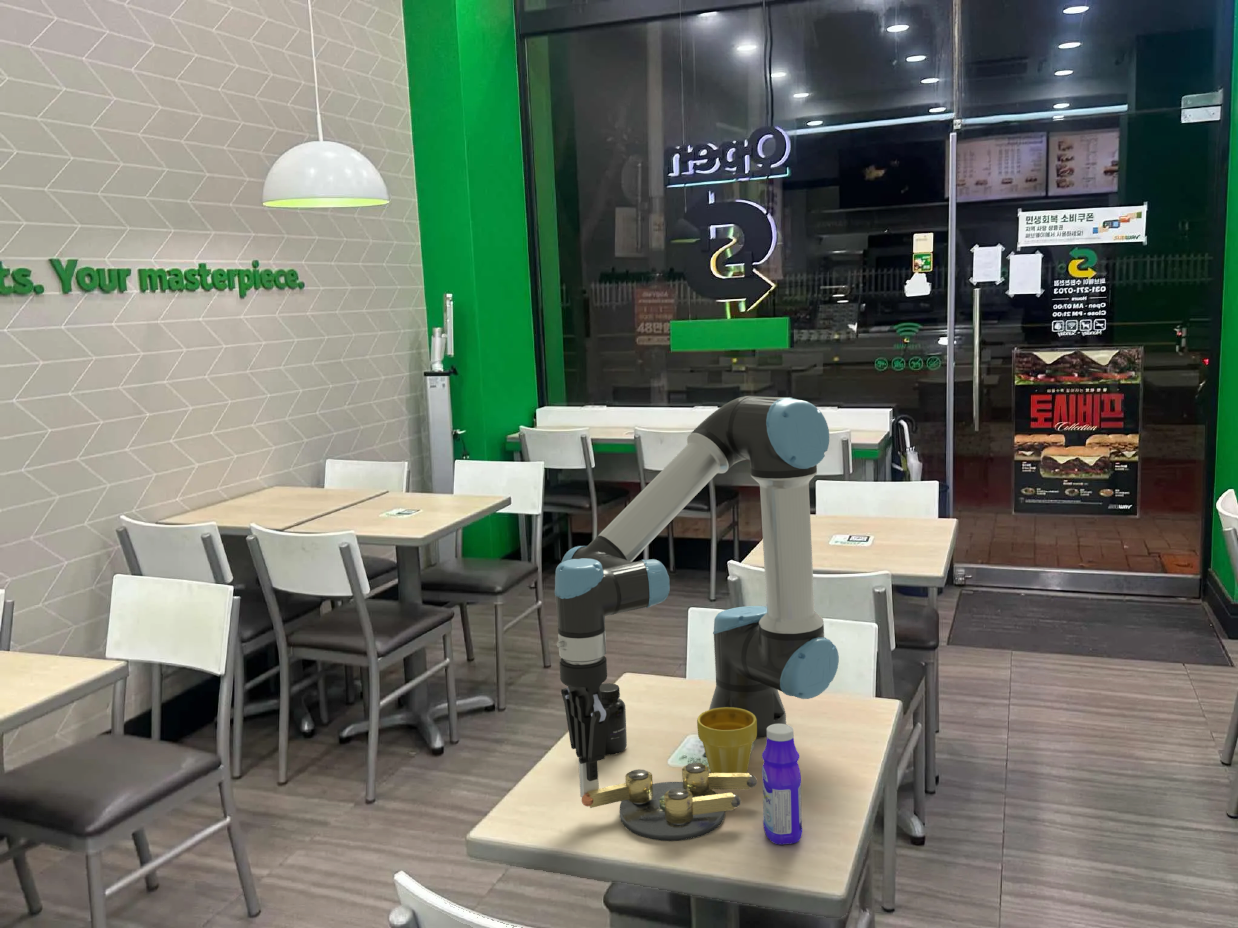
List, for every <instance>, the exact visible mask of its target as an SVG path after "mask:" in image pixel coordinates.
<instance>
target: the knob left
mask: <svg viewBox="0 0 1238 928" xmlns="http://www.w3.org/2000/svg"><path fill="white" fill-rule="evenodd" d="M681 771H682V775H681V776H682V782H683V789H686V790H688V791H690V792H691V793H692V796H701V795H705V794H707V793H708V792H709V791H710V789H712V790H750V789H751V788H755V787H756V786H757V784H758V779H757V777H756V776H755V775H753V774H750V772H746V773H711V772H710V769H709V766H707V765H706V764H703V763H701V762H691V763H688V764H686V765H684V766H682V769H681Z"/></svg>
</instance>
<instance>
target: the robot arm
mask: <svg viewBox="0 0 1238 928" xmlns="http://www.w3.org/2000/svg"><path fill="white" fill-rule="evenodd" d="M686 441H687V442H686V443H687V444H686V446H684V447H683V449H681V450H680V452H679V453H677V454H676V456H674V457H673V459H672V460H671V461H670V462H669V463H668V464H667V465H666V466H665V467H664V468H663V469H662V470H661V471H660V472H659V473H658V474H656V476H655V477H654V478H653V479H652V480H651V481H650V482H649V483H648V484H647V485H646V486H645V487H644V488H643V490H641V491H640V492H639V493H638V494H637V495H636V496H635V497H634V498H633V499H632V501H631V502H629V504H627V506H626V507H625V508H624V509H622V511H621V512H620V513H619V514H618V515H616V517H614V518H613V520H612V521H611V522H610V523H608V525H607V526H606V527H605V528H604V529H603V530H601V532H600V533H599V534H597V536H596V537H595V538H594V539H593V540H591V542H590V543H589V544H588V545H577V546H574V547H572V548H571V549H569V550H568V551H566V553H565V554H564V556H563V557H562V560H561V562H560V563H559V564H558V565H557V567H556V568H555V575H554V596H555V604H556V606H555V607H556V619H557V620H556V621H557V632H558V633H557V636H558V637H557V638H558V641H557V642H556V646H557V648H558V651H559V653H558V655H559V657H560V659H559V678H560V681H561V683H562V684H563V685H565V686H567V687H565V688H561V689H560V694H561V696H562V697H561V698H562V700H563V703H564V710H565V717H566V723H567V729H568V730H567V731H568V736H569V742H570V747H571V749H572V750H575V754H576V755H575V756H576V757H577V758H578V773H579V774H578V775H579V776H578V777H579V792H580V794H579V795H580V798H582V797H583V795H584V794H587V791H591V790H596V789H600V788H599V787H600V786H599V766H598V765H599V761H603V760H605V759H606V755H605V749H606V737H607V725H608V720H609V717H610V709H609V708H606V709H604V708H603V706H602V704H601V700H602V696H601V692H600V685H601V684H604V682H605V681H606V680H607V678H608V666H607V665H608V664H607V657H606V656H605V655H606V654H607V639H606V637H607V636H606V617H609V616H613V615H618V614H623V613H626V612H630V611H636V610H640V609H644V608H646V609H649V608H650V607H653V606H655V605H658V604H661V603H664V602H665V601H666V600H667V598H668V597H669V594H670V588H671V585H670V576H669V573H668V571H667V568H666V566H665V565H664V564H663V563H662V561H660V560H657V559H655V558H652V559H641V560H638V561H634V560H635V559H636V558H637V557H638V556H639V555H640V554H641V553H642V552H643V551H644V550H645V548H647V546H649V545H650V544H651V543H652V541H653V540H654V539H655V538H657V536H658V535H659V534H661V532H662V531H663V530H664V529H665V528H666V527H667V526H668V525H669V523H670V522H672V520H674V519H675V518H676V516H678V514H679V513H681V512H682V510H683V509H684V508H685V507H686V506H687V505H688V504H689V503H690V502H691V501H692V500H693V499H694V498H695V496H697V495H698V493H700V492H701V491H702V489H703V488H704V487H706V485H707V484H709V482H710V481H712V479H713V478H715V476H716V475H717V474H725V473H727V472H728V471H729V469H730V468H731V467H733V465H735V464H737V463H739V462H741V461H745V460H748V461H749V466H750V467H749V468H750V477H751V478H752V479H753V480H754V481H755V482H757V483H758V484H759V491H760V493H759V494H760V495H759V496H760V512H761V527H762V529H761V530H762V545H763V547H762V549H763V566H764V567H763V568H764V570H763V571H764V583H765V584H764V585H765V600H766V601H765V603H766V606H763V605H748V606H739V607H733V608H729V609H724V610H723V611H720V612H718V613H717V614H716V616H715V617H714V619H713V620H714V621H713V622H714V623H713V632H712V634H713V643H714V645H713V647H714V664H715V667H714V668H715V671H714V672H715V688H714V691H713V695H712V698H711V701H710V705H709V708H708V710H711V709H715V708H723V707H733V708H740V709H744V710H747V711H749V712H751V713H753V714H754V715H755V717H756V719H757V737H756V739H760V738H767V727H768V726H770V725H772V724H787V713H786V710H785V707H784V704H783V702H782V701H783V700H782V698H781V696H780V693H779V692H782V693H783V694H784V695H786V696H789V697H795V698H797V699H801V700H810V699H813V698H815V697H818V696H819V695H821V694H823V692H825V691H826V690H827V689H828V688H829V686H830V684H831V683H832V682H833V680H834V678H835V676H836V674H837V672H838V669H839V668H838V667H839V664H840V663H839V661H840V656H839V655H840V654H839V651H838V648H837V647H836V645H835V644H834V643H833V642H832V641H831V639H829V638H827V637H825V625H824V624H825V623H824V619H823V617H822V616H820V614H818V613H817V612H816V611H815V594H814V593H815V592H814V591H815V590H814V571H813V568H814V567H813V548H812V547H813V546H812V529H811V528H812V527H811V526H812V524H811V506H810V505H811V503H810V500H811V499H810V485H809V484H810V482H811V480H812V479H813V478H815V476H816V475H817V473H818V470H817V469H818V468H817V467H818V466H817V465H818V464H819V463H821V462H822V461H823V460H824V458H825V457H826V455H825V453H826V452H827V451H828V449H829V445H830V429H829V426H828V422H827V420H826V418H825V416H824V414H823V413H822V412H821V410H820V409H818V408H817V406H816V405H814V404H813V403H811V402H809V401H806V400H802V399H797V398H793V397H780V396H779V397H778V396H777V397H776V396H775V397H774V396H758V395H745V396H741V397H737V398H735V399H733V400H730V401H729V402H726V403H725V404H723V405H722V406H720V407H719V408H717V410H715V411H714V412H712V413H711V414H710V415H708V416H707V417H706V418H705V419H704V420H702V422H701V423H700V424H698V426H697V427H695V428H694V430H692V432H691V433H689V435H687V438H686Z"/></svg>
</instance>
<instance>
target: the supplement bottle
mask: <svg viewBox="0 0 1238 928" xmlns="http://www.w3.org/2000/svg"><path fill="white" fill-rule="evenodd" d="M600 692H601V696H602V700H601V704H602V706H603V708H604V709H606V708H609V709H610V717H609V720H608V725H607V737H606V749H605V756H613V755H617V754H620V753H622V752H624V751H625V750H626V748H627V745H628V743H627V742H628V739H627V738H628V737H627V734H628V733H627V715H626V714H627V713H626V703H625V701H624V700H623V699H621V693H620V686H619V685H618V684H616V683H609V682H608V683H607V682H606V683H604V682H603V683H602V684H601V685H600Z"/></svg>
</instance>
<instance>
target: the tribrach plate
mask: <svg viewBox="0 0 1238 928" xmlns="http://www.w3.org/2000/svg"><path fill="white" fill-rule="evenodd" d="M675 788H682V789H683V781H663V782H656V783H653V798H652V799H651V800H650V801H648V802H645V803H633V802H630V801H628V800H623V801H620V804H619V818H620V822H621V825H622V826H623V827H624V828H625V829H626V830H627V831H629V832H631V833H632V834H634V835H636V836H639V837H642V838H644V839H648V840H649V839H650V840H654V841H661V842H666V841H667V842H677V841H685V840H693V839H696V838H700V837H703V836H705V835H707V834H710V833H712V832H714V831H715V830H716V829H717V828H719V827H720V826H721V825H722V824H723V822H724V820H725V817H726V816H725V815H726V812H725V811H720V812H713V813H705V814H697V815H693V819H692V820H691V821H689V822H687V823H683V824H675V823H671V822H668V821H667V820H666V819H665V801H664V794H665V793H666V792H667V791H669V790H671V789H675ZM716 794H719V793H718V792H716V790H714V789H710V791H709V792H708V793H707V794H705V795H701V796H708V795H716ZM692 797H700V796H692Z"/></svg>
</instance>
